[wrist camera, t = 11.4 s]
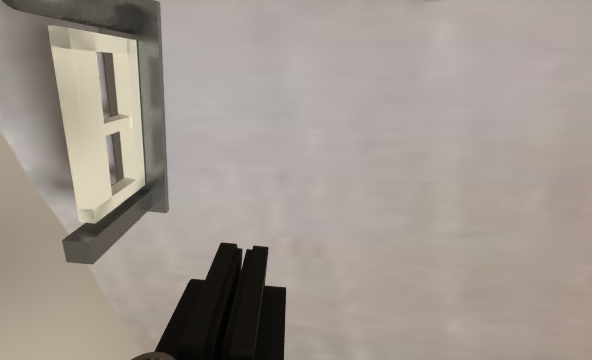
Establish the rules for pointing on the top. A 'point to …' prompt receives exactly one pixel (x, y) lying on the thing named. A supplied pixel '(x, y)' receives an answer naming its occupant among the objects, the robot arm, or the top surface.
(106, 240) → the gate frame
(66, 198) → the top surface
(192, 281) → the robot arm
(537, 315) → the top surface
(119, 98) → the gate
